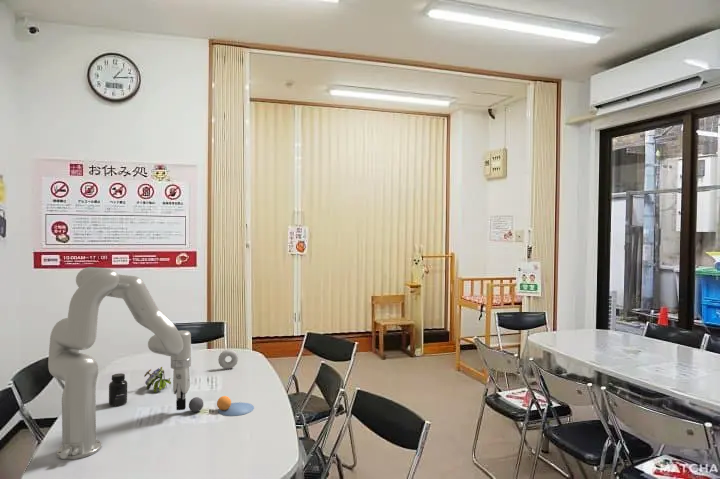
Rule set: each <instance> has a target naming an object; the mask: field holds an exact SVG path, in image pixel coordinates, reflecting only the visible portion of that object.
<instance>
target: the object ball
mask: <svg viewBox="0 0 720 479" xmlns="http://www.w3.org/2000/svg"><path fill="white" fill-rule="evenodd" d="M231 403H232V400H231V398H230V397H229V396H228V395H223V396H220V397H219V398H218V399H217V402H216V406H217V409H220V410H223V411H224V410H227V409H229V407H230V406H231Z"/></svg>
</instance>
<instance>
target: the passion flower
mask: <svg viewBox="0 0 720 479" xmlns="http://www.w3.org/2000/svg"><path fill="white" fill-rule="evenodd" d="M151 371H152V368H150V369H148V370H147V371H146V372H145V374H144V378H145V377H146V376H148V375H149V377H148V378H147V379H146V380H145V381H144V383H145V385H146V387H145V389H146V390H150V389H151V386H153V393H155V394H157V392H158V391H159V392H160V391H162V390H164V389H165V388H168V387H167V384H170V385H171V384H172V382H171V377H168V378H165V370H164V368H163V366H161V367H159V368H157V369H155V370H154V371H153V372H151ZM150 372H151V373H150Z"/></svg>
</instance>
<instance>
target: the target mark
mask: <svg viewBox="0 0 720 479" xmlns="http://www.w3.org/2000/svg"><path fill="white" fill-rule="evenodd" d="M217 409H218V410H217V412H218V413H219V414H220V415H222V416H226V417H238V416H243V415H247V414H249V413H251V412H253V411H254V409H255V405H254V404H251V403H249V402H241V401H240V402H231V406H230V407H229V409H227V410H224V411H223V410H220V409H219V408H217Z"/></svg>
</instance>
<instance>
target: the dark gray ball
mask: <svg viewBox="0 0 720 479" xmlns="http://www.w3.org/2000/svg"><path fill="white" fill-rule="evenodd" d="M203 407H204V401H203V399H202V398H201V397H198V396H197V397H193V398H192V399H190V401H189V403H188V408H189V410H190V411H192V412H194V413H197V412H198V413H199V412H201V410H202V409H203Z"/></svg>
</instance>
